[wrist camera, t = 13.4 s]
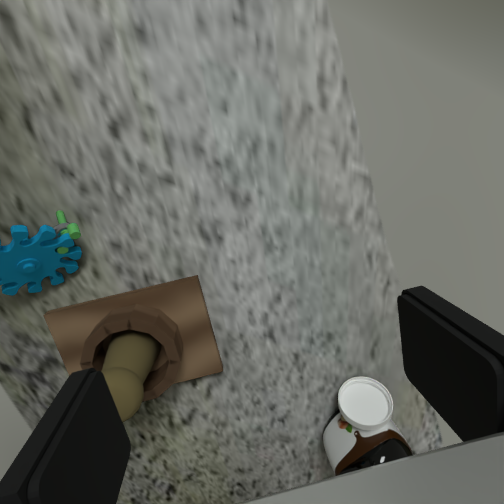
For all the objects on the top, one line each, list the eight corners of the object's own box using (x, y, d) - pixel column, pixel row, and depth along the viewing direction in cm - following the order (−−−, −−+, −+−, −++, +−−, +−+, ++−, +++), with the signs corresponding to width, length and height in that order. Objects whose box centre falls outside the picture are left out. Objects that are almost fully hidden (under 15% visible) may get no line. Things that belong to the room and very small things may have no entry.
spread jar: (337, 457, 51) (372, 540, 40) (295, 410, 48) (320, 486, 37) (404, 412, 50) (458, 484, 39) (365, 360, 47) (413, 424, 36)
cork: (115, 369, 42) (82, 440, 31) (105, 324, 40) (67, 384, 30) (165, 362, 42) (149, 430, 32) (157, 318, 41) (138, 374, 30)
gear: (20, 310, 38) (-67, 274, 29) (12, 270, 41) (-69, 226, 32) (109, 261, 39) (51, 212, 31) (96, 225, 42) (39, 171, 33)
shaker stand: (48, 310, 40) (26, 331, 35) (197, 275, 41) (195, 290, 36) (86, 400, 44) (70, 430, 39) (222, 365, 45) (223, 390, 40)
